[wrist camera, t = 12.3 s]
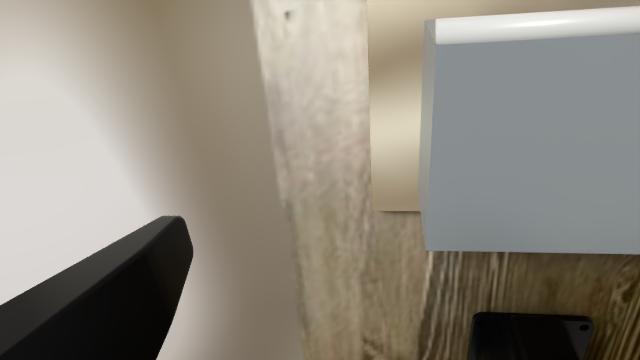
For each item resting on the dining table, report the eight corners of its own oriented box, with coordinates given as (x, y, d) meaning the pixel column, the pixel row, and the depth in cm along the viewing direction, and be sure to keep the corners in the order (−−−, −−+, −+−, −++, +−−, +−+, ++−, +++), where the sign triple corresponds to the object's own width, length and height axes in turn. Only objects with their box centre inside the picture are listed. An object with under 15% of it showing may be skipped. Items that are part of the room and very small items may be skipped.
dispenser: (686, 193, 19) (761, 258, 15) (417, 194, 20) (425, 252, 17) (777, -25, 14) (914, -9, 11) (425, 0, 16) (437, 21, 12)
